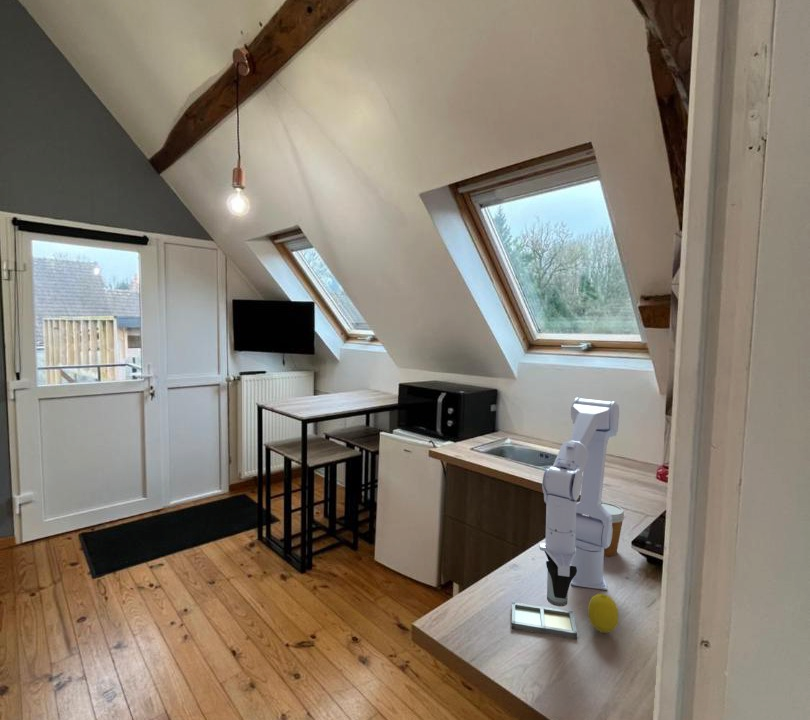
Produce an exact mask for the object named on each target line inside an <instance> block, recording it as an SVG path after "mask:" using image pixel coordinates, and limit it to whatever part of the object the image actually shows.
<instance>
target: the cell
mask: <svg viewBox="0 0 810 720" xmlns="http://www.w3.org/2000/svg"><path fill="white" fill-rule="evenodd" d="M546 581H547V583H546V584H547V586H546V601H547V602H548V603H549V604H551V605H552V606H554V607H561V608H562V607H565V606H567V605H568V602H569V600H568V599H569V598H568V595H569V592H568V593H567V596H566V598H565V599H563V598H556V597H555V596H554V592H553V585H552V579H551V576H550V573H549V571H548V570H547V579H546Z"/></svg>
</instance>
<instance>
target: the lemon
mask: <svg viewBox="0 0 810 720" xmlns="http://www.w3.org/2000/svg"><path fill="white" fill-rule="evenodd" d="M587 614H588V615H587V616H588V619H589V623H591V625H592V626H593V627H594V629H596V630H598V631H600V633H602V634H604V633H610V632H613V631H614V630H615V629H616V627H617V625H618V624H619V610H618V607H617V604H616V603H615V600H613V599H612V597H610V596H608V595H607V594H605V593H597V594H595V595H593V596H592V597H591V599H590V601H589V603H588V608H587Z"/></svg>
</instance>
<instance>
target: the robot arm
mask: <svg viewBox="0 0 810 720" xmlns="http://www.w3.org/2000/svg"><path fill="white" fill-rule="evenodd" d="M570 417H571V420H572V424H573V428H572V431H571V434H570V438H569V440H567V441H564V442H563V443H562V444H561V446H560V449H559V451H558V454H557V455H556V457H555V459H554V462H553V465H551V466H550V467H546V468H545V470H544V472H543V477H542V484H541V487H542V488H541V489H542V493H543V501H544V503H545V504H546V507H545V508H546V509H545V510H546V511H545V512H546V513H545V542H539V544H538V545H539V550H540V551H543V552H544V553H545V556H546V558H547V560H546V561H545V564H546V568H547V572H548V571H549V573H550V576H551V579H552V585H553V592H554V596H555V597H556V598H563V599H565V598H566V596H567V593H568V594H569V588H570V585H571V586H575V587H581V588H582V587H583V588H587V589H589V588H590V589H598V590H603V591H607V590H608V585H607V583H606V581H605V577H604V563H605V562H604V557H605V555H604V548H605V549H606V548H608V547H609V546H610V544H611V540H612V532H613V528H612V516H611V515H610V513H609V512H608V511H607V510H606V509H605V508H604V507H603V506H602V505H601V502H602V497H603V488H604V487H603V486H604V477H605V475H604V474H605V468H606V467H605V466H606V459H607V458H606V457H607V447H608V443H609V439H610V438H612V437H616V436H617V435H618V434H617V433H618V431H619V422H620V406H619V404H618V402H617V401H614V400H612V401H609V400H598V399H591V398H590V399H589V398H581V397H575V398H574V400H572V403H571V407H570ZM579 498H580V499H579ZM577 500H579V501H577ZM589 516H592V517H589ZM593 517H596V518H598V519H596V518H593Z"/></svg>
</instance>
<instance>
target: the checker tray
mask: <svg viewBox="0 0 810 720" xmlns="http://www.w3.org/2000/svg"><path fill="white" fill-rule="evenodd" d="M511 629H513V630H519V631H524V632H531V633H535V634H536V633H537V634H544V635H549V636H555V637H560V638H561V637H562V638H567V639H572V640H573V639H574V640H578V631H577V627H576V621H575V617H574V613H573V611H572V610H566V609H561V608H560V609H559V608H554V607H553V608H551V607H547V606H542V605H539V606H538V605H534V604H527V603H526V604H525V603H520V602H511Z"/></svg>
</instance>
